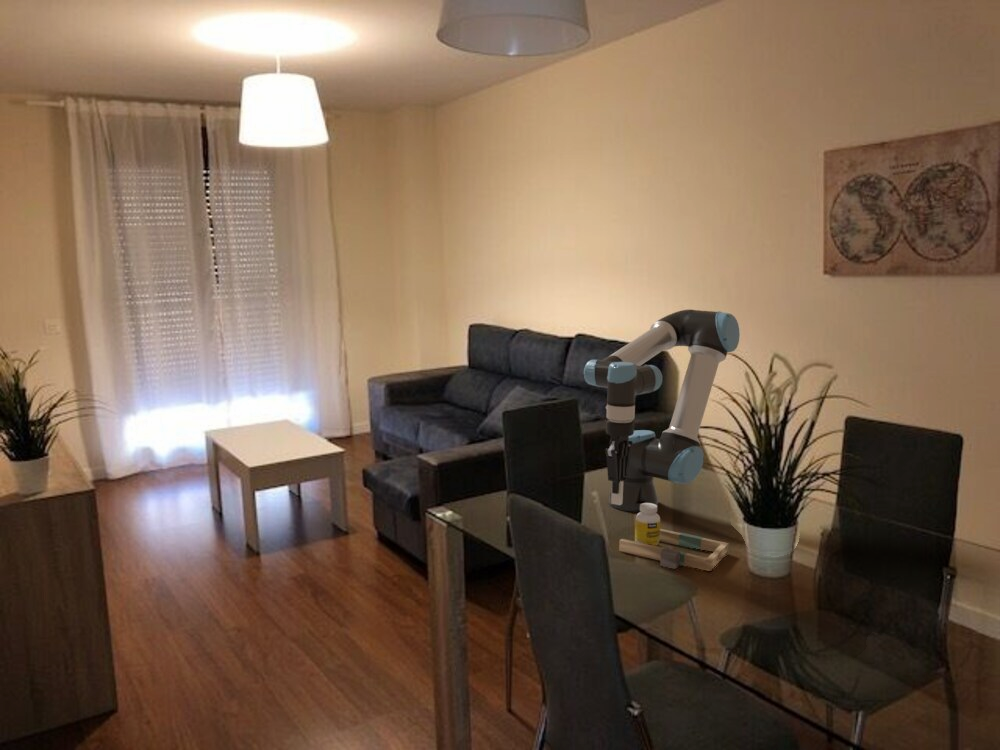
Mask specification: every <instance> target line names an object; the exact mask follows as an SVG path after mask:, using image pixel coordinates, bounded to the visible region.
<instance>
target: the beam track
mask: <svg viewBox="0 0 1000 750" xmlns="http://www.w3.org/2000/svg"><path fill="white" fill-rule="evenodd" d="M659 542H662V543H666V544H671V545H675V546H679V547H684V548H688V547H689V549H693V548H696V549H695V550H697V549H701V550H700V551H702V550H708V551H714V552H713V553H710V554H709V555H708V557H705V556H701V555H698V554H693V553H688V552H685V551H681V550H677V549H673V548H668V547H661V546H659V547H657V546H653V545H648V544H644V543H639V542H635V540H630V539H626V538H620V539H619V544H618V545H619V546H618V549H619V550H618V551H619V552H622V553H627V554H629V555H630V554H631V555H635V556H639V557H643V558H648V559H652V560H656V561H660V563H659V565H660V567H661V566H663V567H662V568H665V567H671V568H674V569H675V568H676V567H678V566H679V565H680V566H681V565H685V566H684V567H686V566H689V567H688V568H690V567H696V568H701V569H702V568H703V569H709V570H711V569H712V568H714V566H716V564H717V563H718V562H719V561H720V560H721V559H722V557H723V556H724V555H725V553H726V552H727V551H728V552H729V542H728V543H727V542H724V541H722V540H721V541H720V540H719V541H718V540H714V539H711V538H707V537H702V536H699V535H693V534H689V533H685V532H676V531H672V530H668V529H663V528H660V537H659ZM680 566H679V567H680ZM679 567H678V568H679ZM716 567H717V566H716ZM714 569H715V568H714Z"/></svg>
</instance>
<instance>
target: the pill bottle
mask: <svg viewBox="0 0 1000 750" xmlns="http://www.w3.org/2000/svg"><path fill="white" fill-rule="evenodd" d="M640 511H641V512H638V513H637V514H636V517H635V529H634V530H635V533H634V541H635V542H639V543H644V544H648V545H653V546H657V547H660V541H659V537H660V529H661V517H660V515H659V514H658V506H657V505H656V504H653V503H642V504H640Z"/></svg>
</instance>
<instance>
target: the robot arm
mask: <svg viewBox="0 0 1000 750" xmlns="http://www.w3.org/2000/svg"><path fill="white" fill-rule="evenodd" d="M740 334H741V333H740V327H739V322H738V320H737V318H736V317H735V316H734V315H733V314H732V313H728V312H722V311H720V310H719V311H714V310H713V311H712V310H700V309H698V310H697V309H683V310H679V311H675V312H672V313H671V314H667V315H666V316H663V317H661V318H660V319H658V320H656V321H655V322H654V323H652V324H651V326H650V329H648V330H647V331H645V332H644V333H642V334H641V335H639V336H638V337H637V338H635V339H632V340H631V341H630V342H629V343H627V344H625V345H624V346H623V347H621V348H619V349H618V350H616V351H615V352H614V353H611V354H610V355H609V356H607V357H605V358H604V359H602V360H600V359H590V360H588V361H587V362H586V364H585V365H584V369H583V377H584V381H585V382H586V384H587V385H590V386H595V387H598V388H606V389H607V393H606V394H607V396H606V406H605V410H606V415H605V416H606V421H605V433H606V434H607V435H608V436H610V440H609V448H607V447H606V448H605V450H604V452H605V457H606V466H607V468H606V469H607V480H608V481H609V482H611V490H610V493H609V495H608V496H609V498H608V504H609V505H610V506H611V507H613V508H615V509H617V510H621V511H625V512H634V513H635V512H638V513H640V512H641V511H640V504H642V503H653V504H656V505H657V507H658V506H659V496H658V493H657V490H656V485H655V483H654V478H657V479H660V480H663V481H669V482H671V483H673V484H682V485H687V484H690V483H692V482H693V481H695V479H696V478H697V477H698V476H699V474H700V472H701V471H702V469H703V465H704V457H705V454H704V451H703V449H702V448H701V447H700V446H701V442H700V439H699V438H698V435H699V433H700V432H699V431H700V428H701V425H702V421H703V418H704V414H705V411H706V408H707V404H708V401H709V398H710V394H711V391H712V387H713V385H714V382H715V381H714V380H715V378H716V375H717V374H716V373H717V371H718V367H719V364H720V363H721V362H724V361H725V360H727V359H726V358H727V355H728V353H732V352H734V351H736V349H737V348H738V346H739V343H740ZM675 347H687V350H688V352H689V354H690V358H689V360H688V361H689V362H688V364H687V368H686V371H685V375H684V377H683V380H682V384H681V388H680V391H679V393H678V397H677V400H676V403H675V407H674V410H673V413H672V417H671V421H670V424H669V427H668V428H667V429H665V430H663V431H662V433H661V436H660V438H656V436H657V435H656V432H655V431H653V430H648V429H647V430H646V429H640V430H639V429H638V430H635V421H634V420H635V418H636V417H635V415H636V414H635V413H636V410H635V409H636V396H640V395H645V394H651V393H652V392H656V391H657V390H658V389H660V388H661V386H662V384H663V374H662V371H661V370H660V369H659V368H658V367H657V366H656V365H654V364H645V363H646V362H648V361H650V360H651V359H652V358H654V357H655V356H657V355H658V354H660V353H661V352H663V351H668V350H671V349H673V348H675Z"/></svg>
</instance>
